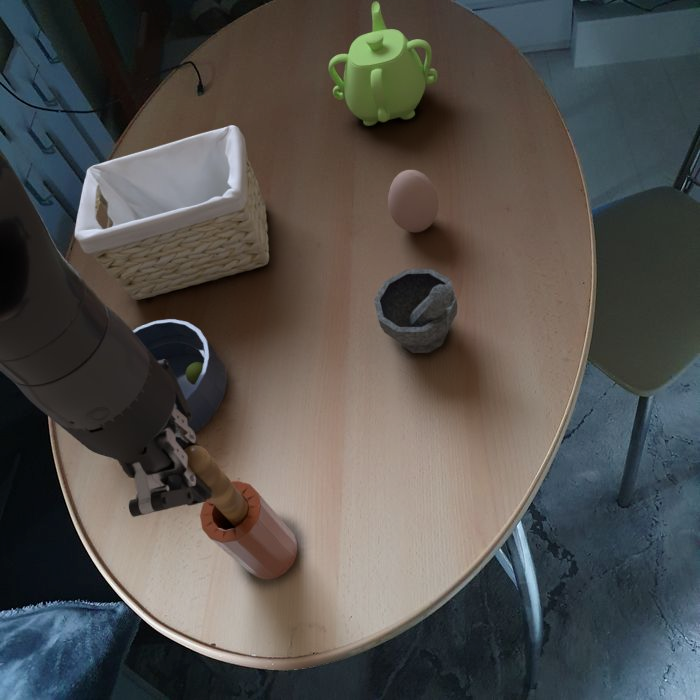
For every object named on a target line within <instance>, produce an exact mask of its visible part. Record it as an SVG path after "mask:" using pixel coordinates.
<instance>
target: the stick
mask: <svg viewBox="0 0 700 700" xmlns="http://www.w3.org/2000/svg"><path fill="white" fill-rule="evenodd" d="M184 452H185V453H186V454H187V456H188V466H189V467H190V468H191V470H192V471H193V472H194V474H196V475H197V476H198V477H199V478H200V479H201V480H202V481H203V482H204V483H205V484H206V485H207V486H208V487H209V488H211V496H212V497H211V498H210V500H211V502H212V503H213V504H214V505H215V506H216V507H217V508H218V509H219V510H220V511H221V513H222V514H223V515H224V516H225V517H226V518H227V519H228V520H229V521H230V523H231V524H232V525H233V526H234V527H235V528H236V527H237V526H239V525H240V524H242V522H243V521H244V520H245V518H246V517H247V514H248V510H249V506H248V502H247V501H246V500H245V499H244V497H243V496H242V495H241V494H240V492H239V491H238V490H237V488H236V487H235V486H234V485H233V483H232V482H233V481H232V480H230V478H229V477H228V476H227V475H226V473H225V472H224V471H223V469H222V468H221V467H220V466H219V464H218V463H217V462H216V460H215V459H214V458H213V457H212V455H210V453H209V452H208V451H207V450H206V449H205V447H203V446H201V445H200V446H198V445H192V446H189V447H187V448H185V449H184Z"/></svg>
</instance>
